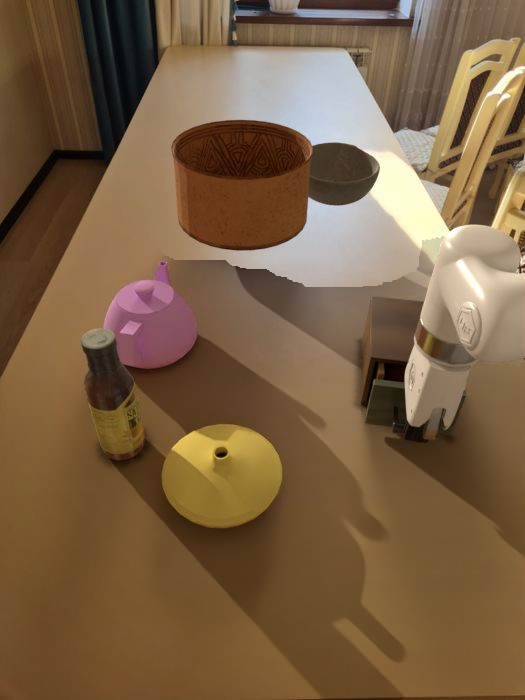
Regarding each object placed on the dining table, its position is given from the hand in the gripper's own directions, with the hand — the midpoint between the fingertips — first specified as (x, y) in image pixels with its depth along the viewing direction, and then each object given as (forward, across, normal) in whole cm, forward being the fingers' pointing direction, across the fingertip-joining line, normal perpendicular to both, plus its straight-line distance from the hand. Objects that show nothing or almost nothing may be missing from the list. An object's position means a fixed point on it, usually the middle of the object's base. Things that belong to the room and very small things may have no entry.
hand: (415, 436), depth 72 cm
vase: (+6, +8, -25) cm, 27 cm away
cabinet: (+6, -17, 0) cm, 18 cm away
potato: (+4, -12, 0) cm, 13 cm away
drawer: (+5, -10, 0) cm, 11 cm away
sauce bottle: (+6, +4, -40) cm, 41 cm away
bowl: (+6, -76, -15) cm, 78 cm away
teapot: (+6, -18, -42) cm, 46 cm away
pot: (+6, -55, -33) cm, 65 cm away
